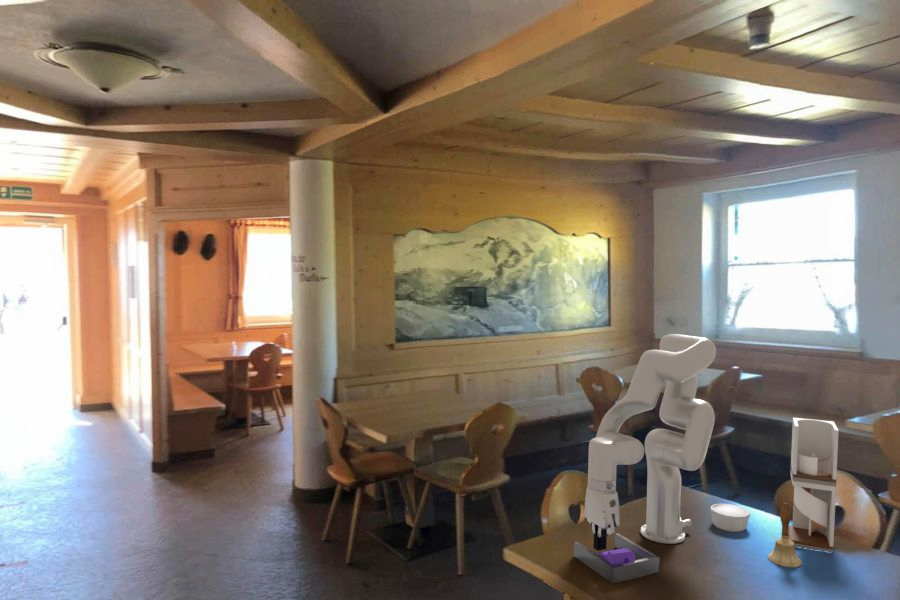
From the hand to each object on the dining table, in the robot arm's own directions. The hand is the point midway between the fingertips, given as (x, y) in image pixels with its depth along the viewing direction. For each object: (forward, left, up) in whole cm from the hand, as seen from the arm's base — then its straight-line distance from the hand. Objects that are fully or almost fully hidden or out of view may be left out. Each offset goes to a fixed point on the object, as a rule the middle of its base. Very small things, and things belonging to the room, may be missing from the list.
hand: (599, 548), depth 178 cm
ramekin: (-49, 0, -2) cm, 49 cm away
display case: (-61, +18, -2) cm, 64 cm away
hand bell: (-44, +23, -2) cm, 50 cm away
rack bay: (0, +6, -2) cm, 6 cm away
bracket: (+2, +7, -2) cm, 8 cm away
